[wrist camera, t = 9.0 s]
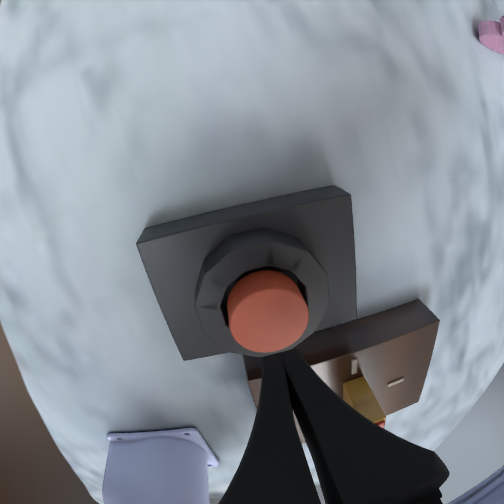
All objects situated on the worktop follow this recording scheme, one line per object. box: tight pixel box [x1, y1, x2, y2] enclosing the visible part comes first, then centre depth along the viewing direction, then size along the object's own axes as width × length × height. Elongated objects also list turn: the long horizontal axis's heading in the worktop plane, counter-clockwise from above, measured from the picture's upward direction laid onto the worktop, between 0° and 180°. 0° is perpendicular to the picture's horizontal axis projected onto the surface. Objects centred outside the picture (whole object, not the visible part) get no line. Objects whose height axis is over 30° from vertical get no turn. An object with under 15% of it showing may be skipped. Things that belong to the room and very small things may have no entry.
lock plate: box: [243, 299, 440, 443], centre depth 22 cm, size 14×10×3 cm
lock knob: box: [343, 376, 386, 428], centre depth 18 cm, size 5×2×4 cm, turn 11°
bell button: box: [227, 270, 309, 352], centre depth 14 cm, size 4×4×2 cm
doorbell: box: [136, 185, 357, 361], centre depth 16 cm, size 11×8×4 cm
